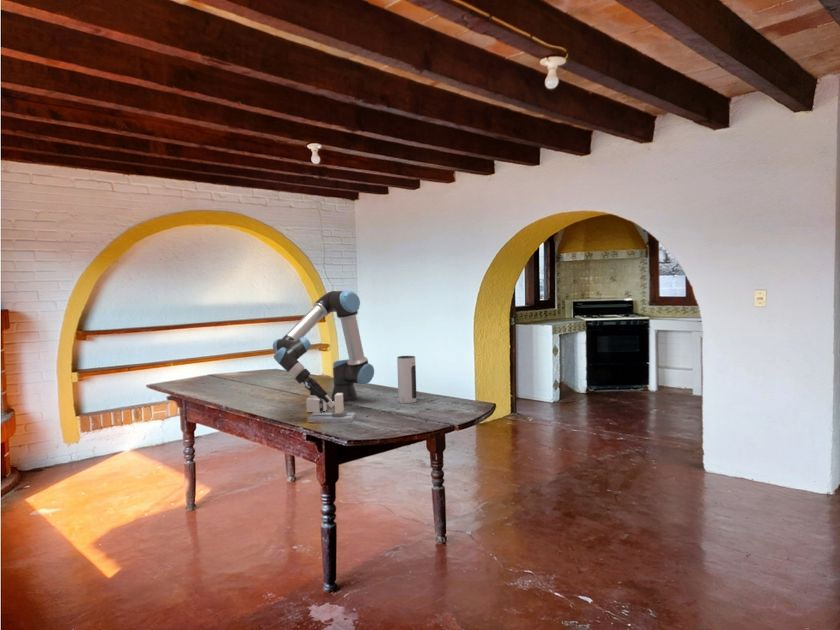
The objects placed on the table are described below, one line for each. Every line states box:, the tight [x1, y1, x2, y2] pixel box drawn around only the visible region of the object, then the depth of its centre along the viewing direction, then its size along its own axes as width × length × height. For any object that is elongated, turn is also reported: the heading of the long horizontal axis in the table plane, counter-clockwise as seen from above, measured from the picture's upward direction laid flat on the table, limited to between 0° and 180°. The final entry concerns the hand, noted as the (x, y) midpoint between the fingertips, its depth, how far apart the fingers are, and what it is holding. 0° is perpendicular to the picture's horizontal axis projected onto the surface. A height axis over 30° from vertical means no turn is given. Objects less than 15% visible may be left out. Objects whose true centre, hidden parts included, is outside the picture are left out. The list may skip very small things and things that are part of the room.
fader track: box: [306, 412, 357, 423], centre depth 296 cm, size 12×22×2 cm, turn 85°
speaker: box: [396, 355, 418, 405], centre depth 332 cm, size 11×10×26 cm
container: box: [305, 391, 328, 413], centre depth 313 cm, size 8×8×13 cm
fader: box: [331, 393, 348, 417], centre depth 295 cm, size 8×6×10 cm
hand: (333, 406), depth 295 cm, fingers closed
